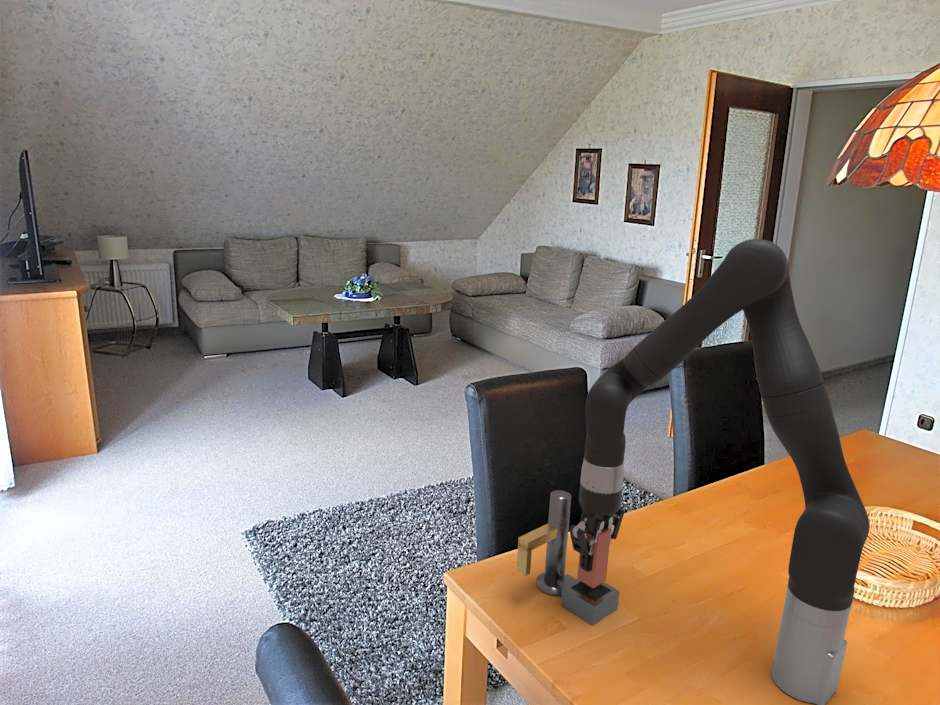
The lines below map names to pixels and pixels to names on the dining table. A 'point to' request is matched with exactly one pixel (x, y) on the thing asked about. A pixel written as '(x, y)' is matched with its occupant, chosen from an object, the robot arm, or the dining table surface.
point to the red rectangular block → (597, 561)
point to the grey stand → (555, 563)
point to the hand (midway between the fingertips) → (593, 564)
